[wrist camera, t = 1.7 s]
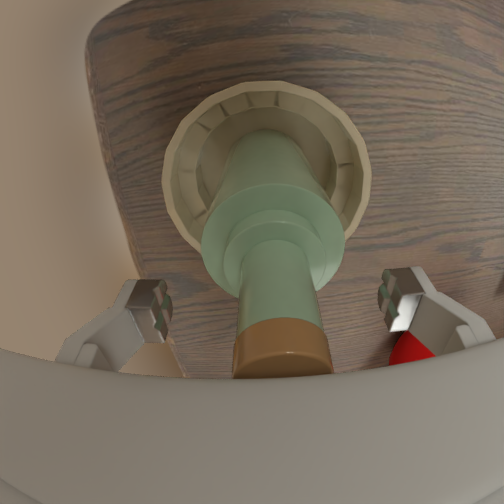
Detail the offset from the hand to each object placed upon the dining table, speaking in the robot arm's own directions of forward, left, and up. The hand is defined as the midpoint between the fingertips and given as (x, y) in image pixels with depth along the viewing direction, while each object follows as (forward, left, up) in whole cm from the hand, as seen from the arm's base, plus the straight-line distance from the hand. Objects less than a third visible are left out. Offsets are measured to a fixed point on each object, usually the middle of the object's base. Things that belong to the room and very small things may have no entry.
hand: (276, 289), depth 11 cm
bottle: (0, 0, -13) cm, 13 cm away
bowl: (0, 0, -14) cm, 14 cm away
